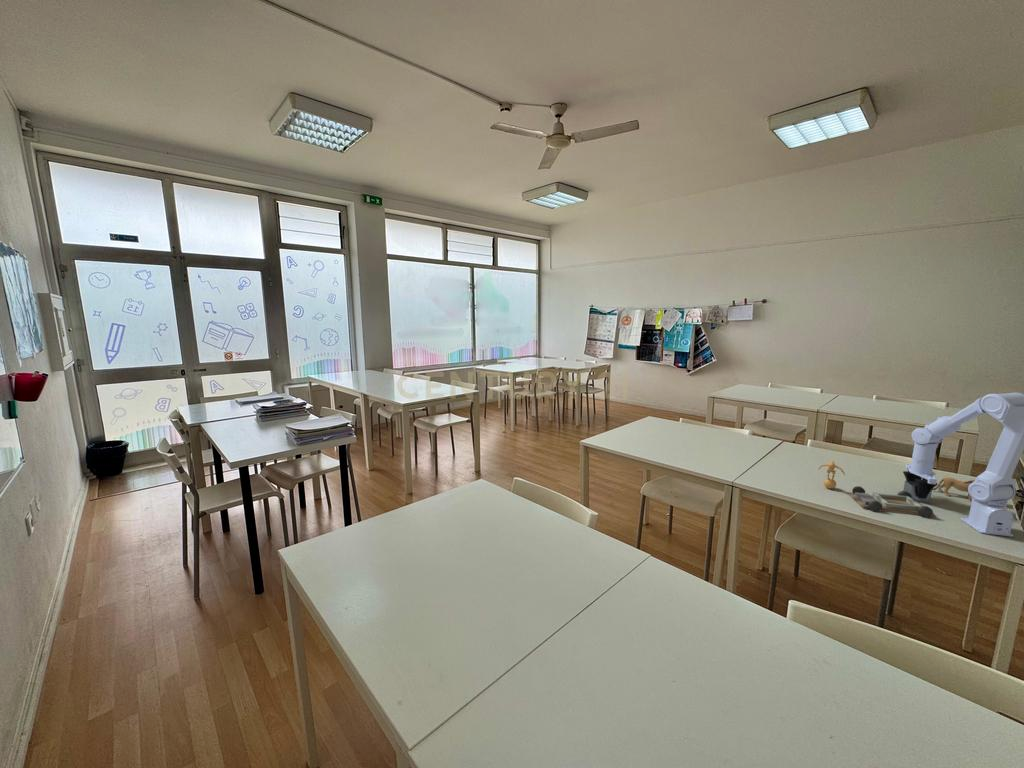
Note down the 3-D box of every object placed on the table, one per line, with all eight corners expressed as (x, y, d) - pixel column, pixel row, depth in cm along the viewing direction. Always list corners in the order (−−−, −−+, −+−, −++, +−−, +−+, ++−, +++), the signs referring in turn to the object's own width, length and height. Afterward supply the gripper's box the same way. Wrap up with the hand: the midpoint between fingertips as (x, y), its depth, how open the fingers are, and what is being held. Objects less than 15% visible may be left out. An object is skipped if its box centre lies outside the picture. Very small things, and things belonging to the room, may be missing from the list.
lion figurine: (987, 501, 152) (992, 478, 150) (988, 506, 148) (993, 482, 147) (931, 489, 162) (935, 467, 161) (930, 493, 159) (934, 471, 157)
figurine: (843, 489, 163) (847, 460, 161) (841, 494, 158) (845, 465, 156) (817, 483, 168) (820, 455, 166) (814, 488, 164) (818, 459, 162)
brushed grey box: (929, 502, 151) (932, 487, 150) (909, 500, 153) (912, 485, 152) (922, 497, 155) (924, 482, 154) (902, 495, 157) (904, 480, 156)
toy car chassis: (936, 518, 140) (938, 508, 139) (864, 510, 146) (866, 500, 146) (912, 500, 153) (914, 491, 152) (847, 494, 159) (849, 485, 158)
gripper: (950, 468, 143) (943, 504, 146) (924, 454, 157) (918, 487, 159) (924, 466, 146) (918, 502, 148) (901, 452, 159) (895, 485, 162)
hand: (916, 494), depth 154 cm, fingers open, 5 cm apart
